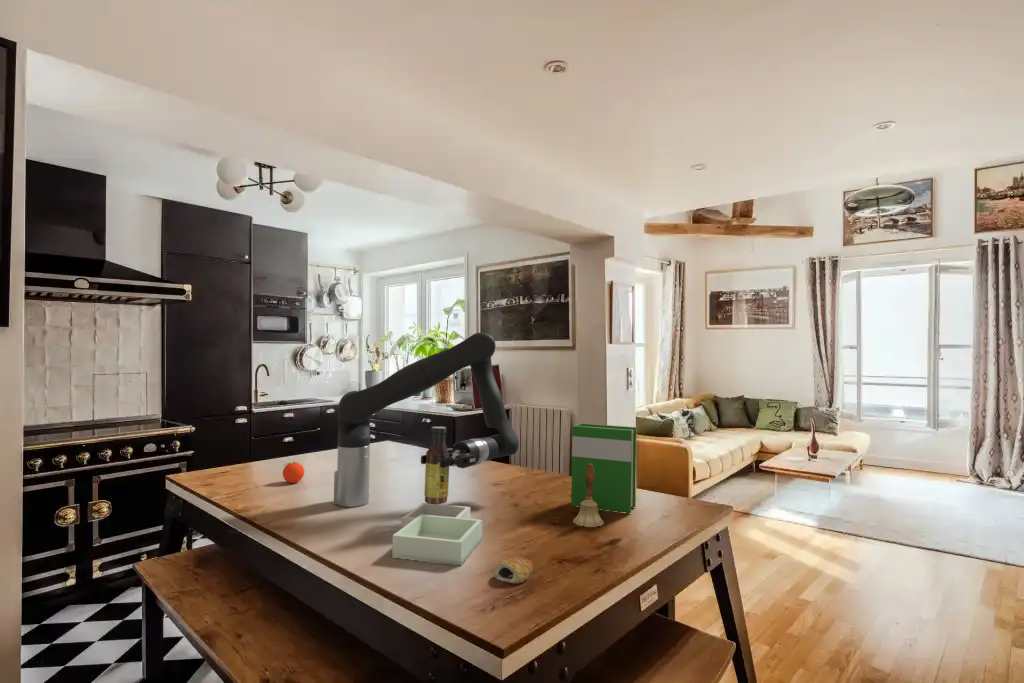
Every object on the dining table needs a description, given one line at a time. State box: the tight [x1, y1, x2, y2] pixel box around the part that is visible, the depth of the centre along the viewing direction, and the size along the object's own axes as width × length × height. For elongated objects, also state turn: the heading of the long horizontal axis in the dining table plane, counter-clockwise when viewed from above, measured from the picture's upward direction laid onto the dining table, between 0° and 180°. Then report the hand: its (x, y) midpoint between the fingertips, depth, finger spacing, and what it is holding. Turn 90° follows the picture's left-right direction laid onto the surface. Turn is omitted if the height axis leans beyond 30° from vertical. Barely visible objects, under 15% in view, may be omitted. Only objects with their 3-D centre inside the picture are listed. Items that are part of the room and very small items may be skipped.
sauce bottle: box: [424, 426, 450, 505], centre depth 144 cm, size 6×6×20 cm
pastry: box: [492, 556, 534, 585], centre depth 112 cm, size 9×7×4 cm
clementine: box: [282, 461, 305, 484], centre depth 184 cm, size 8×7×7 cm
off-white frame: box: [401, 502, 471, 529], centre depth 144 cm, size 14×14×3 cm
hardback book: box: [570, 422, 637, 514], centre depth 162 cm, size 18×7×24 cm, turn 66°
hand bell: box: [572, 463, 605, 528], centre depth 147 cm, size 8×8×16 cm
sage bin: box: [391, 514, 483, 566], centre depth 126 cm, size 16×16×5 cm
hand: (431, 461), depth 142 cm, fingers closed on sauce bottle, 6 cm apart
